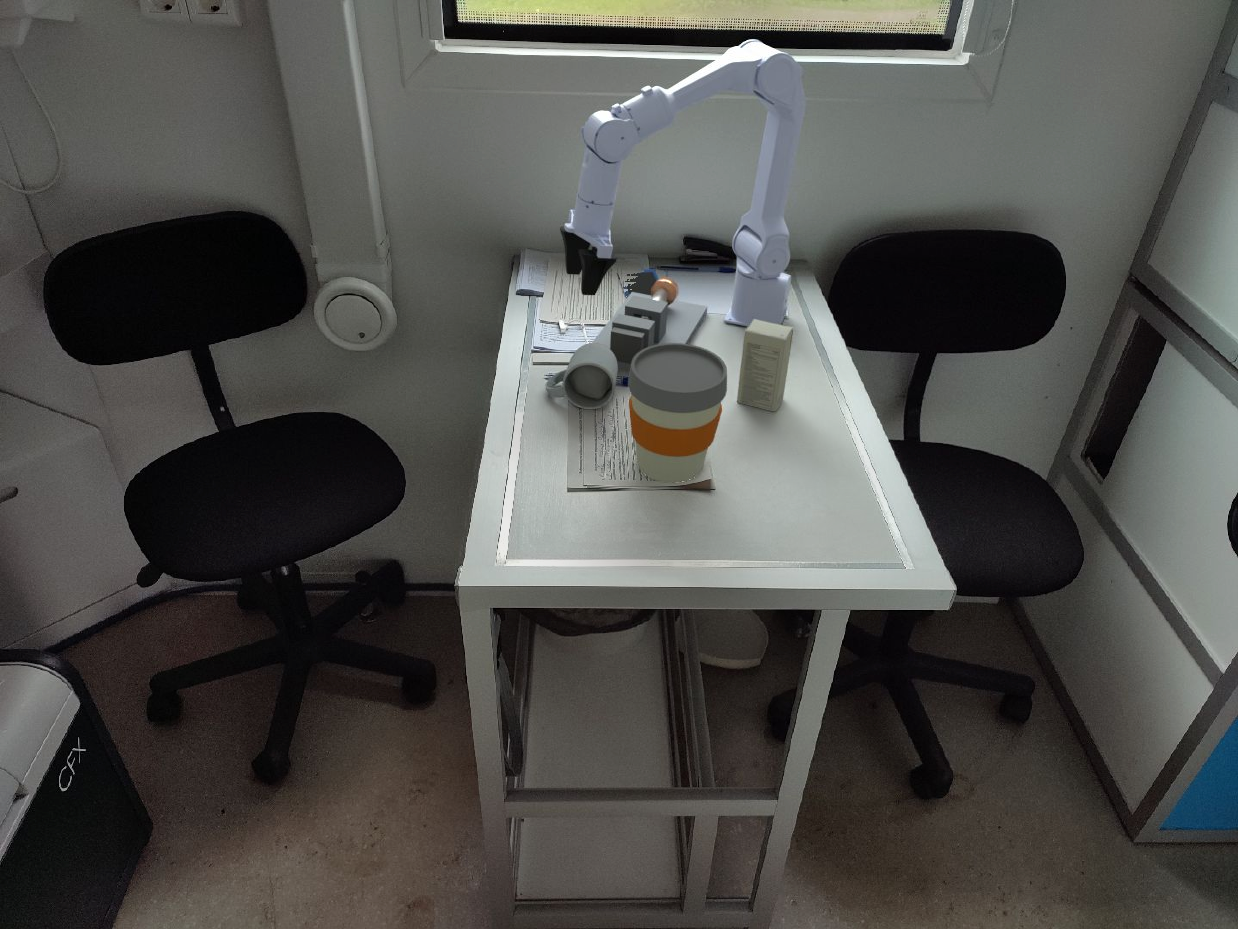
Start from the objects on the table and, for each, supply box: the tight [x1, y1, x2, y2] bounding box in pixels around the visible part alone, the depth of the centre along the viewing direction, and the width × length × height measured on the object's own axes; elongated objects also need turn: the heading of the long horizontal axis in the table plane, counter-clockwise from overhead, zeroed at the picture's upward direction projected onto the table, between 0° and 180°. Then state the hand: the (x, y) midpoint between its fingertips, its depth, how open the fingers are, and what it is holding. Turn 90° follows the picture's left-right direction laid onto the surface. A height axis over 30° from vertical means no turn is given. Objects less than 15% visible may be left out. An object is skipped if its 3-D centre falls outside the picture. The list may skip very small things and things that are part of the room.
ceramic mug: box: [544, 342, 619, 410], centre depth 126 cm, size 11×8×8 cm
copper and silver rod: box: [637, 276, 680, 320], centre depth 143 cm, size 4×12×4 cm, turn 161°
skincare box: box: [736, 319, 795, 412], centre depth 126 cm, size 6×4×12 cm
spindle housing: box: [591, 292, 708, 373], centre depth 141 cm, size 14×24×7 cm, turn 161°
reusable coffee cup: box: [627, 343, 728, 484], centre depth 111 cm, size 13×13×15 cm
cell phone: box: [622, 268, 660, 298], centre depth 159 cm, size 7×14×1 cm, turn 9°
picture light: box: [558, 317, 590, 344], centre depth 145 cm, size 14×4×2 cm, turn 10°
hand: (580, 283), depth 135 cm, fingers open, 7 cm apart
